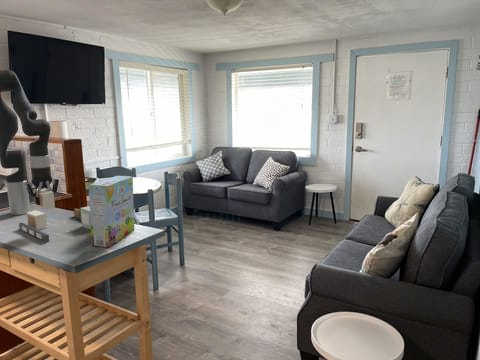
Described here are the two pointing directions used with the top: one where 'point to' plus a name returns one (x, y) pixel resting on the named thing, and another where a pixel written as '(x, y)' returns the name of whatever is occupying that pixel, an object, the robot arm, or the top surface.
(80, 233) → the top surface
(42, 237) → the rail
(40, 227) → the faced twin box
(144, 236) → the top surface
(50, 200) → the box
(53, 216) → the top surface
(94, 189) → the snack box
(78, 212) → the shelf back lip
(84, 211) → the sage tea tin
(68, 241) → the top surface
